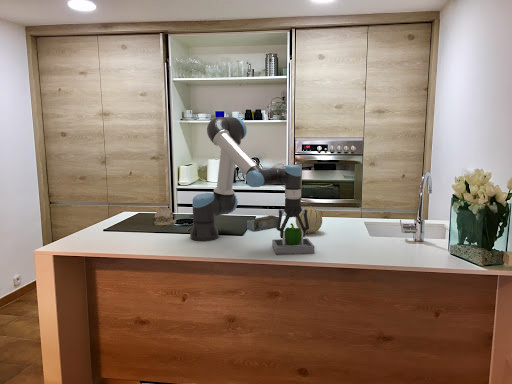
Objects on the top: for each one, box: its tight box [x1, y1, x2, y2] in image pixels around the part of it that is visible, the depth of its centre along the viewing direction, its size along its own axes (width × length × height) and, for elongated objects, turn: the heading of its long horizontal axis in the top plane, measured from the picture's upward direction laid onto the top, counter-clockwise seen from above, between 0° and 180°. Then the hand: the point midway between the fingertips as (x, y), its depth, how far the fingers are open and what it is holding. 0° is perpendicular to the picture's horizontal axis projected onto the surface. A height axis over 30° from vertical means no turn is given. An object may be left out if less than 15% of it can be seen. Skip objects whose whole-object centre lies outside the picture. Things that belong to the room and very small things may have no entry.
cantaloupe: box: [295, 205, 323, 234], centre depth 229 cm, size 15×15×15 cm
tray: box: [271, 237, 315, 256], centre depth 198 cm, size 18×14×4 cm
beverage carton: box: [246, 215, 279, 232], centre depth 242 cm, size 8×19×7 cm, turn 126°
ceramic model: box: [153, 207, 177, 226], centre depth 255 cm, size 14×11×10 cm
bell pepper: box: [284, 223, 302, 246], centre depth 197 cm, size 8×8×10 cm
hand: (292, 244), depth 198 cm, fingers closed on bell pepper, 8 cm apart
